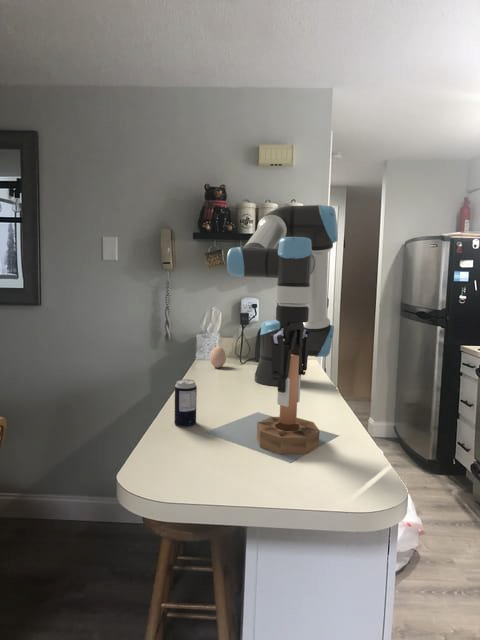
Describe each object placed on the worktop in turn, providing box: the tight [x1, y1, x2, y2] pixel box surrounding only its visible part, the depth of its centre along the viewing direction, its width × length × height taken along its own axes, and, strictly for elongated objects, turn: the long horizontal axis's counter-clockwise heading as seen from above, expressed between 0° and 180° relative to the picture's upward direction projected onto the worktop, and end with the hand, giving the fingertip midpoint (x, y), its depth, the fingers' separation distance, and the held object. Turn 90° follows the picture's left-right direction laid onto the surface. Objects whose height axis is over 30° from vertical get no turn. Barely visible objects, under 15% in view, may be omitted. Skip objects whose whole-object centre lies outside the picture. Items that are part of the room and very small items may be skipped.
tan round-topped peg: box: [279, 354, 299, 425], centre depth 106 cm, size 4×4×16 cm
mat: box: [204, 411, 340, 464], centre depth 113 cm, size 22×26×1 cm
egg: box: [209, 345, 227, 369], centre depth 187 cm, size 7×7×9 cm
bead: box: [257, 416, 321, 455], centre depth 107 cm, size 14×14×4 cm
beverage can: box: [174, 378, 198, 428], centre depth 118 cm, size 6×6×12 cm
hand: (288, 402), depth 106 cm, fingers closed on tan round-topped peg, 4 cm apart
